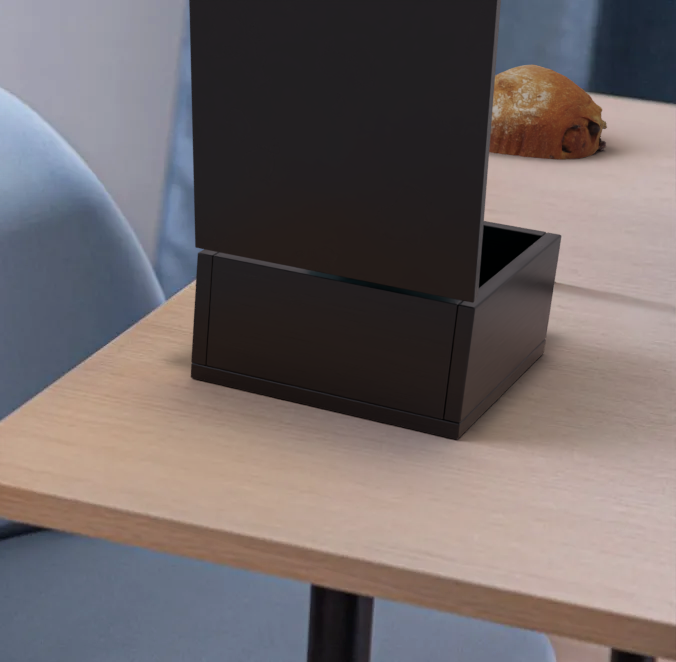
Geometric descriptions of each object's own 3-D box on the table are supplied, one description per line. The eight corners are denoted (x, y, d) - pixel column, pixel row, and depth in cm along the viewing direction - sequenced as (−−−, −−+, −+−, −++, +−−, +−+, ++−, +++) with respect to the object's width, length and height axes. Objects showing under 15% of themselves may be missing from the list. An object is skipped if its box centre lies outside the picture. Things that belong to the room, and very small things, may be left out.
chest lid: (193, -62, 75) (187, -57, 74) (503, -25, 69) (498, -20, 69) (200, 242, 83) (194, 247, 82) (478, 297, 77) (473, 303, 77)
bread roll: (503, 179, 136) (473, 78, 134) (631, 141, 130) (601, 35, 128) (457, 207, 128) (424, 100, 127) (590, 168, 122) (558, 56, 121)
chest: (301, 303, 96) (311, 189, 94) (544, 353, 91) (562, 234, 88) (189, 378, 85) (197, 252, 83) (457, 440, 80) (474, 308, 77)
